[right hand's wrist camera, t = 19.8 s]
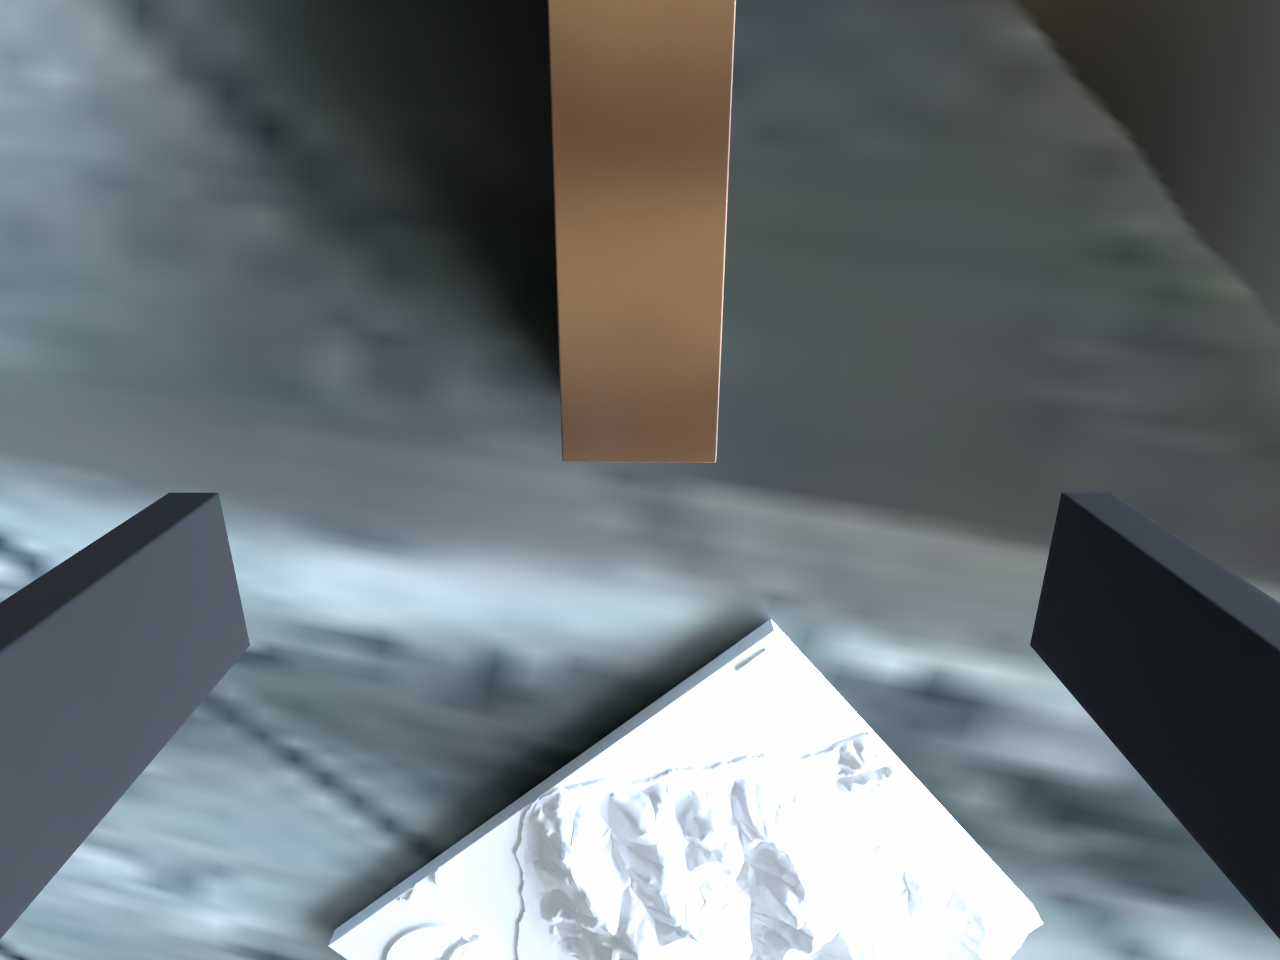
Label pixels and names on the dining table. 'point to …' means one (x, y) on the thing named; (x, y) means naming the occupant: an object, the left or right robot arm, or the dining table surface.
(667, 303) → the bar
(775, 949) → the white printed flat box
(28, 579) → the dining table surface
